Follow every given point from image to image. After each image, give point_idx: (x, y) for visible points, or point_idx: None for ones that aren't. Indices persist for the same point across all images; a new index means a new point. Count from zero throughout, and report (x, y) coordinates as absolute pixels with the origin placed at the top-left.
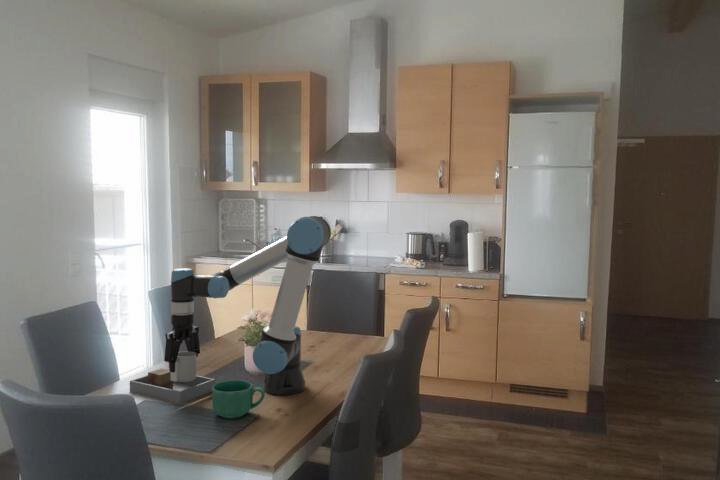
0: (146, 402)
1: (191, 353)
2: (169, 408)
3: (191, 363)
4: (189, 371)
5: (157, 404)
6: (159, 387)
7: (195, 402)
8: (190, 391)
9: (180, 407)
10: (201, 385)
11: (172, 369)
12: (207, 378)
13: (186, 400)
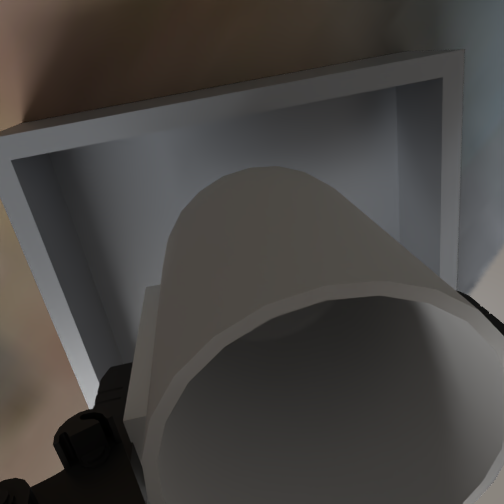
0: (468, 269)
1: (171, 484)
2: (481, 61)
3: (321, 224)
4: (320, 193)
5: (462, 193)
6: (452, 285)
7: (291, 19)
8: (323, 73)
9: (429, 13)
10: (183, 100)
11: (476, 307)
12: (33, 217)
13: (350, 62)
